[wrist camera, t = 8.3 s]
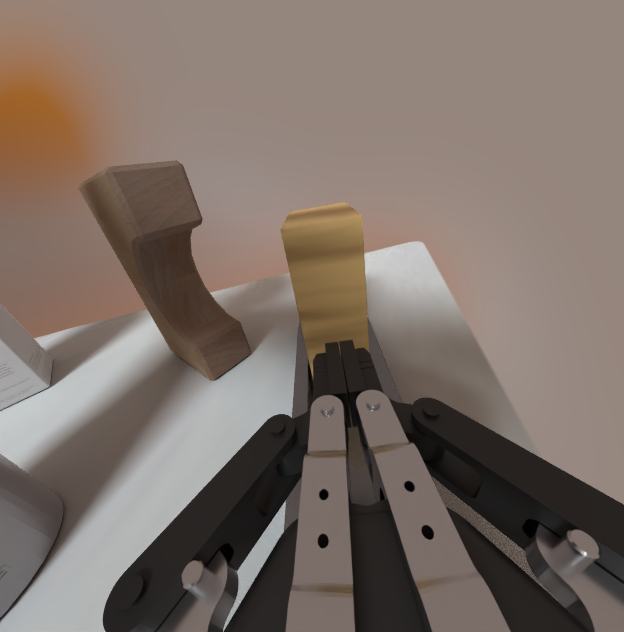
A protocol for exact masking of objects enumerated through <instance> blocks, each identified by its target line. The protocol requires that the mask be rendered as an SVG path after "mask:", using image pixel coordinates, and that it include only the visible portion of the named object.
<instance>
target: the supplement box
mask: <svg viewBox="0 0 624 632" xmlns="http://www.w3.org/2000/svg"><path fill="white" fill-rule="evenodd" d="M52 363H53V359H52V358H51V357H50V356H49V355H48V354H47V352H46V351H45V350H44V349H43V348H42V347H41V346H40V345H39V344H38V343H37V342H36V341H35V339H34V338H33V337H32V336H31V335H30V334H29V333H28V332H27V331H26V330H25V329H24V328H23V327H22V326H21V325H20V323H19V322H18V321H17V320H16V319H15V318H14V317H13V316H12V315H11V314H10V313H9V312H8V311H7V309H6V308H5V307H4V306H3V305H2V304H1V303H0V410H2V409H4V408H6V407H8V406H10V405H12V404H15V403H17V402H19V401H21V400H23V399H25V398H27V397H29V396H31V395H34V394H36V393H38V392H40V391H42V390H44V389H46V388H48V387H49V386H50V381H51V372H52Z"/></svg>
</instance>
